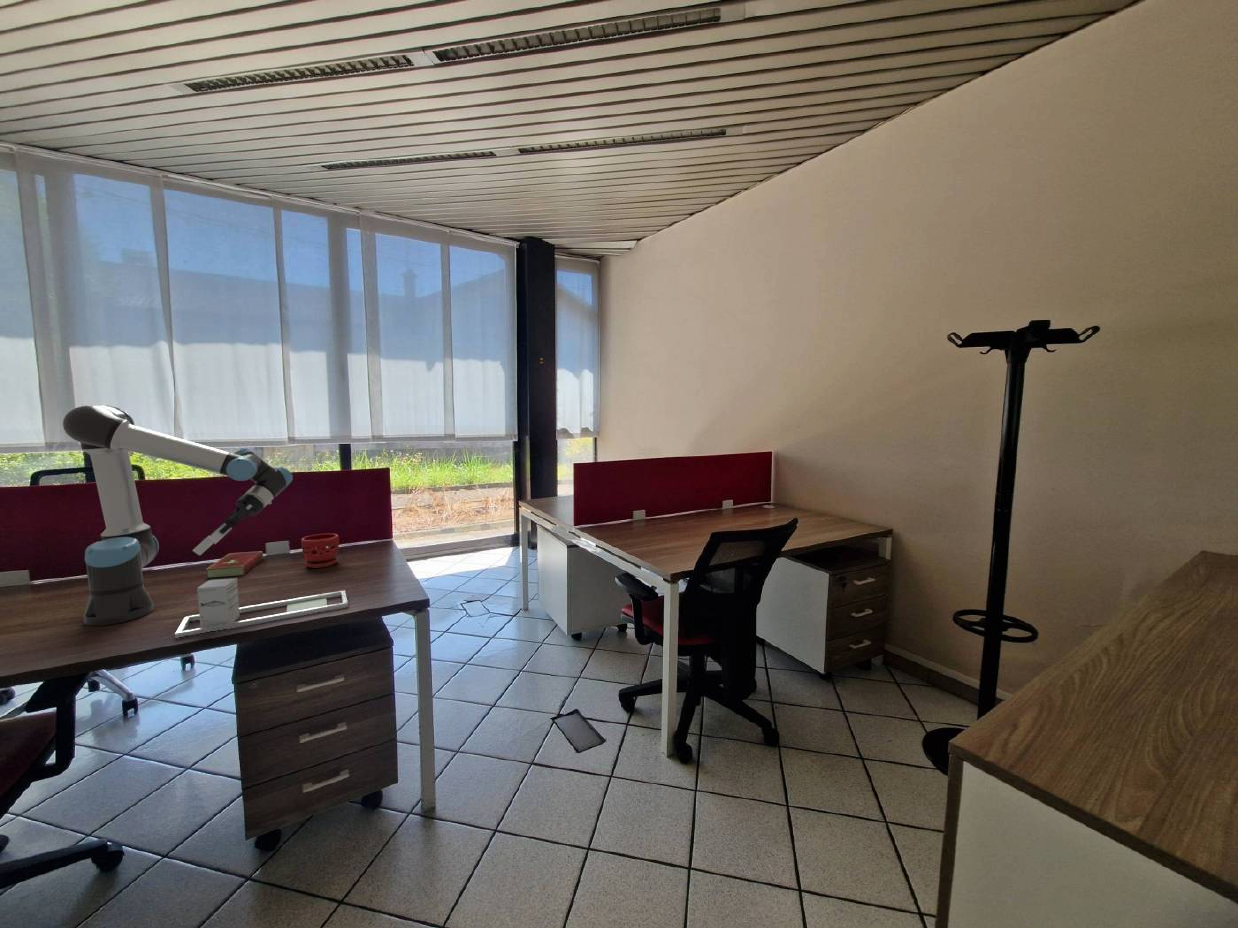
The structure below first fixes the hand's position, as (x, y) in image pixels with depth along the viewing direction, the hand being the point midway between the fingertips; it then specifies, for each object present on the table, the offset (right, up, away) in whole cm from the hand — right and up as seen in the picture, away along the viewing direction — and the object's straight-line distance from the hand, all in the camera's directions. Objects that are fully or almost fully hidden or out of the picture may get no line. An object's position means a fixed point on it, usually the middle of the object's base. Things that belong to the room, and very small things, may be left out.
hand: (203, 547), depth 156 cm
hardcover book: (-22, -16, +41) cm, 49 cm away
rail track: (+22, -21, -2) cm, 30 cm away
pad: (+31, -20, +4) cm, 37 cm away
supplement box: (+12, -22, -8) cm, 26 cm away
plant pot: (+9, -15, +47) cm, 50 cm away
